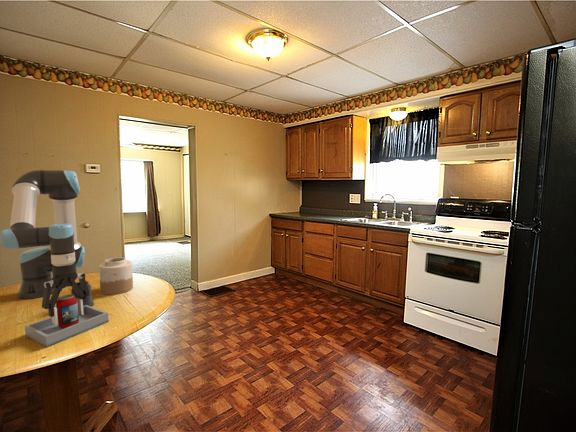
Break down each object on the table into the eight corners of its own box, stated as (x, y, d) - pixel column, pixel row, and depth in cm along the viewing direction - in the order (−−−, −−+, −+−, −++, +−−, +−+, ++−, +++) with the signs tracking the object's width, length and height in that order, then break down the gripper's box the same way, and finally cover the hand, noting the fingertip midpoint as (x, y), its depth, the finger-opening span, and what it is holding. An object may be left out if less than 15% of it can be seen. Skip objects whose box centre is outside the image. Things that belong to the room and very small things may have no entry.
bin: (25, 336, 113) (24, 326, 112) (87, 313, 132) (86, 304, 132) (47, 347, 106) (46, 336, 105) (108, 321, 125) (108, 312, 124)
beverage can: (68, 330, 115) (65, 299, 114) (54, 329, 116) (50, 299, 115) (83, 322, 121) (80, 293, 121) (69, 322, 123) (66, 293, 122)
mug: (94, 307, 138) (92, 284, 137) (70, 312, 133) (68, 288, 132) (93, 298, 148) (92, 277, 147) (71, 302, 143) (69, 280, 142)
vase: (138, 288, 163) (137, 258, 161) (109, 297, 150) (107, 265, 148) (123, 282, 171) (121, 254, 169) (94, 291, 158) (92, 260, 156)
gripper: (35, 272, 105) (41, 333, 107) (97, 258, 123) (101, 310, 126) (25, 269, 108) (31, 328, 111) (87, 256, 127) (91, 306, 129)
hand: (68, 318), depth 118 cm, fingers open, 8 cm apart
